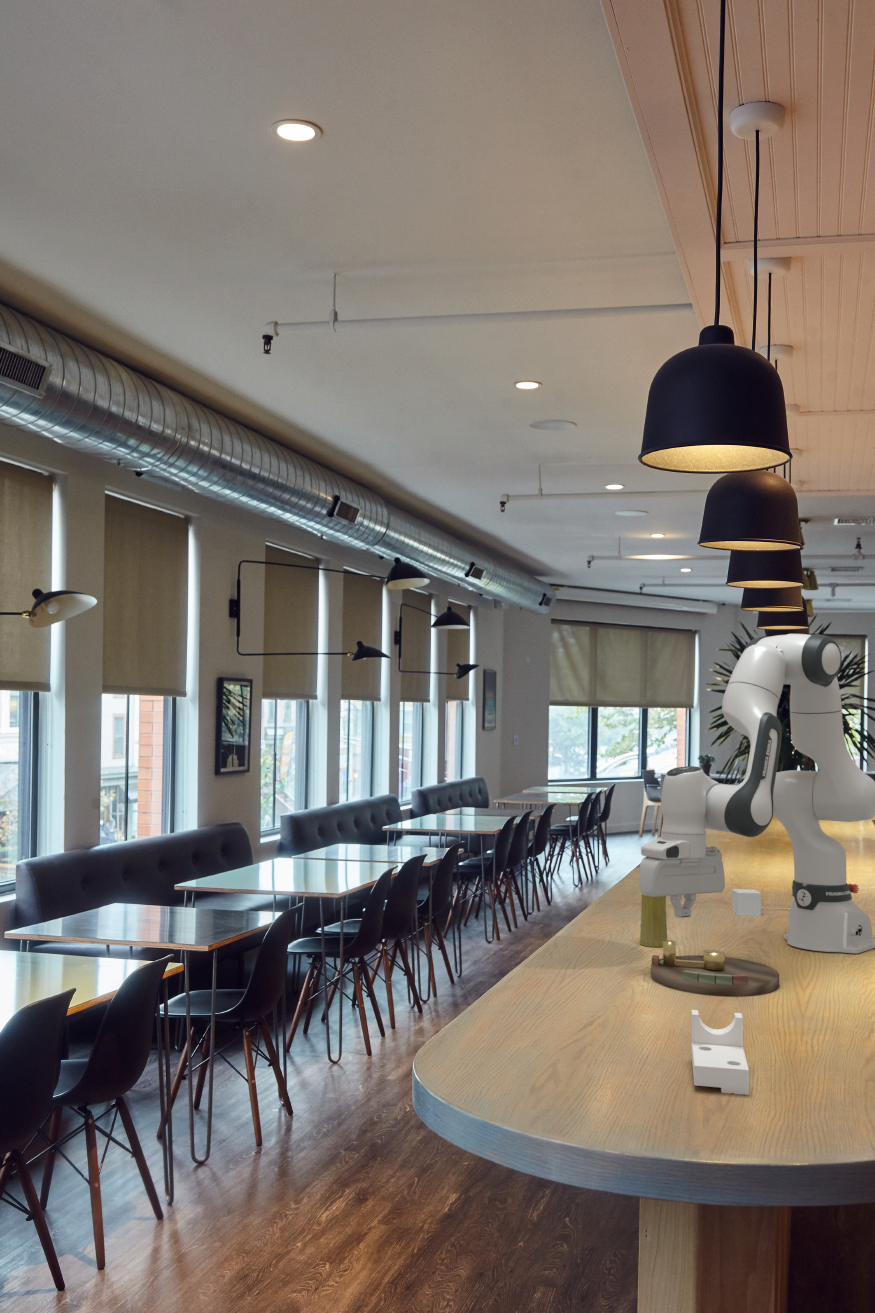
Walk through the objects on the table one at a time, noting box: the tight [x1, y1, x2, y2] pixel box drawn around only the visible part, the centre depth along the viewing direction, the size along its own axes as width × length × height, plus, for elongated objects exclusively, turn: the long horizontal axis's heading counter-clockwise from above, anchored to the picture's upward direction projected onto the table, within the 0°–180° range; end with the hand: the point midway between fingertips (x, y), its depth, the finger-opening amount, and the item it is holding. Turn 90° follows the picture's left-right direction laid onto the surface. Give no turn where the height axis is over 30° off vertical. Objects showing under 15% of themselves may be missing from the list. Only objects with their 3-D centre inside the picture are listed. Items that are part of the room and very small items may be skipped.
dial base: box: [650, 954, 780, 997], centre depth 203 cm, size 24×24×4 cm
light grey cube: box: [731, 888, 762, 917], centre depth 274 cm, size 6×6×6 cm
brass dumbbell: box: [660, 939, 726, 970], centre depth 204 cm, size 12×4×4 cm, turn 74°
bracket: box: [690, 1009, 750, 1096], centre depth 148 cm, size 13×7×8 cm, turn 168°
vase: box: [639, 893, 668, 948], centre depth 235 cm, size 6×6×14 cm
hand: (682, 917), depth 210 cm, fingers closed
